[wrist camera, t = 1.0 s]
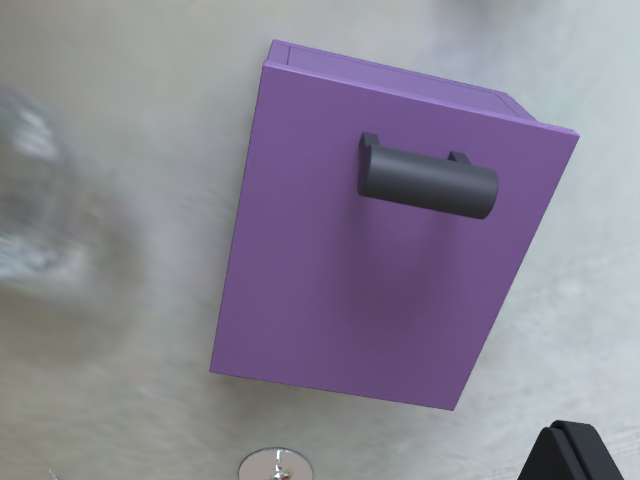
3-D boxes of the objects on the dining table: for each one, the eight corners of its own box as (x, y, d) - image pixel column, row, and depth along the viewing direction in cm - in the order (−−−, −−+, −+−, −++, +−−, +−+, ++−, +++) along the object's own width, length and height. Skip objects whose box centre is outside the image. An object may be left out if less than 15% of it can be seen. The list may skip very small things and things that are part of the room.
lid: (264, 59, 24) (253, 94, 20) (573, 129, 26) (632, 177, 21) (211, 362, 32) (194, 439, 28) (450, 401, 34) (473, 479, 29)
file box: (273, 39, 33) (261, 78, 25) (507, 93, 34) (565, 145, 26) (230, 274, 40) (211, 361, 32) (424, 309, 42) (450, 400, 34)
